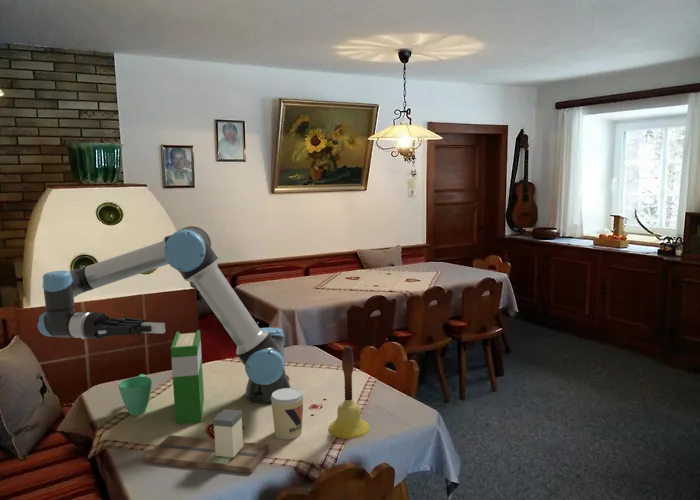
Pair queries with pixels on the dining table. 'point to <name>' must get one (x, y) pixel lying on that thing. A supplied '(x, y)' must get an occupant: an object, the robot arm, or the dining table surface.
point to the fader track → (206, 454)
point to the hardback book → (187, 377)
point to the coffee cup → (287, 412)
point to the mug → (136, 393)
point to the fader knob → (228, 433)
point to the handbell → (348, 406)
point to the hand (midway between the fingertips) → (163, 328)
